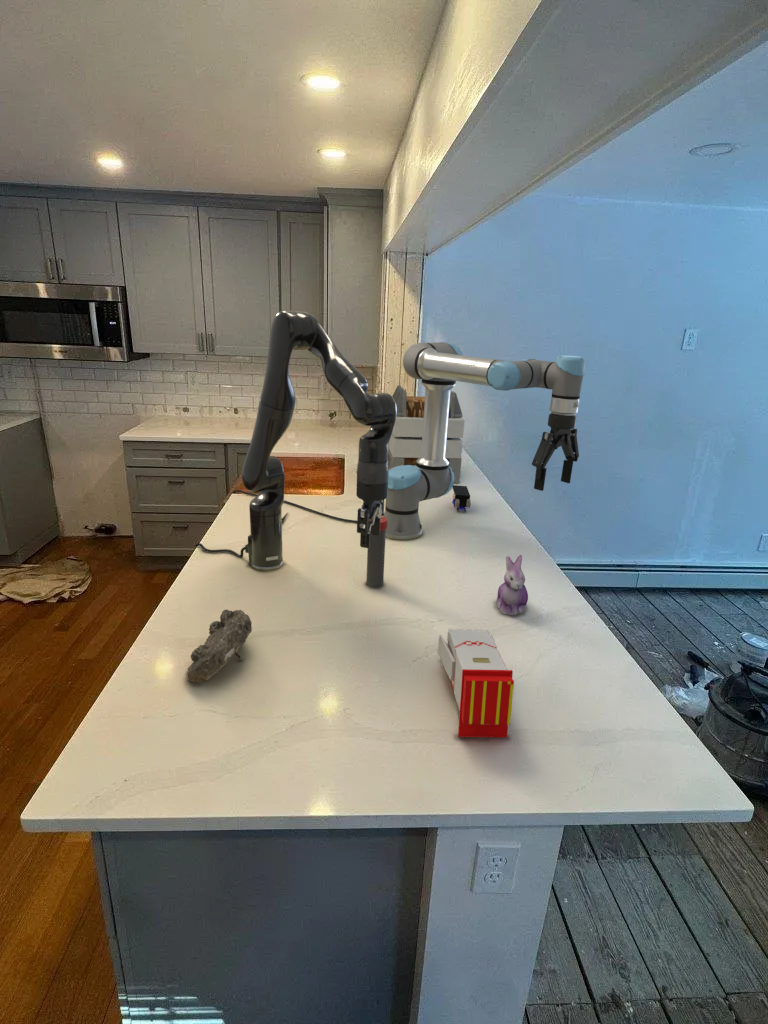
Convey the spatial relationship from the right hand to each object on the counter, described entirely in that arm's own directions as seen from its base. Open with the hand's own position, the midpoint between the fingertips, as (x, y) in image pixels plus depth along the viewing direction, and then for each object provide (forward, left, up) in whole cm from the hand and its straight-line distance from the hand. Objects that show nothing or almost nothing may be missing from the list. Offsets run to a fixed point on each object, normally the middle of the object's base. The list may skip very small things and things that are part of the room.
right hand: (552, 485), depth 166 cm
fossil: (-16, -96, -28) cm, 102 cm away
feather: (-85, -38, -28) cm, 98 cm away
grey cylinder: (-24, -46, -28) cm, 59 cm away
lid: (-24, -46, -8) cm, 53 cm away
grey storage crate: (-101, +46, -28) cm, 115 cm away
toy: (+26, -62, -28) cm, 72 cm away
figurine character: (-55, +25, -28) cm, 67 cm away
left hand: (-12, -58, -8) cm, 60 cm away
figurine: (+9, -25, -28) cm, 39 cm away
